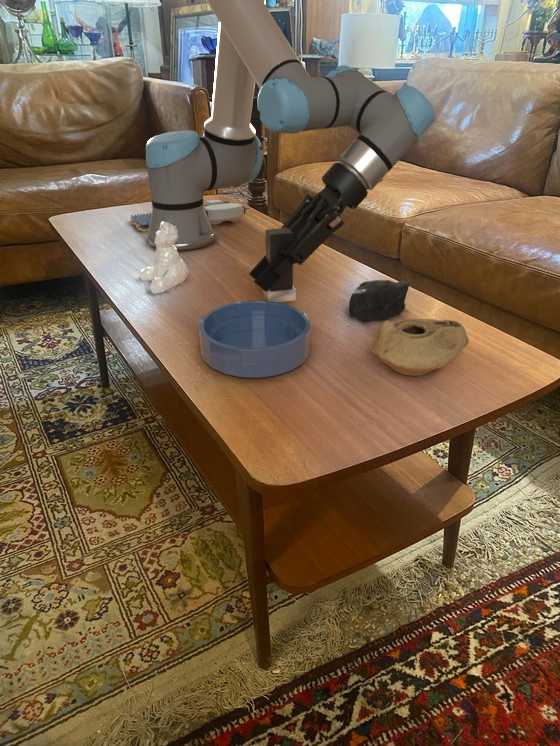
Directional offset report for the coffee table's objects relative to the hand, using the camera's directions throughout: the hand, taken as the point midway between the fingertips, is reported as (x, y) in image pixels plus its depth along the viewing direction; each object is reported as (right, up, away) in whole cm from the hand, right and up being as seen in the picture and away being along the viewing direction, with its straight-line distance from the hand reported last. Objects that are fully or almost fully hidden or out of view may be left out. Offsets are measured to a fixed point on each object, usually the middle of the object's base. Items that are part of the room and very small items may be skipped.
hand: (257, 282), depth 94 cm
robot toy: (-12, +25, +50) cm, 57 cm away
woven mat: (-28, +22, +46) cm, 59 cm away
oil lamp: (+24, -14, -14) cm, 31 cm away
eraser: (+4, -2, +3) cm, 5 cm away
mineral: (+20, -5, +2) cm, 21 cm away
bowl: (0, -12, -11) cm, 16 cm away
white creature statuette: (-18, +2, +13) cm, 23 cm away
